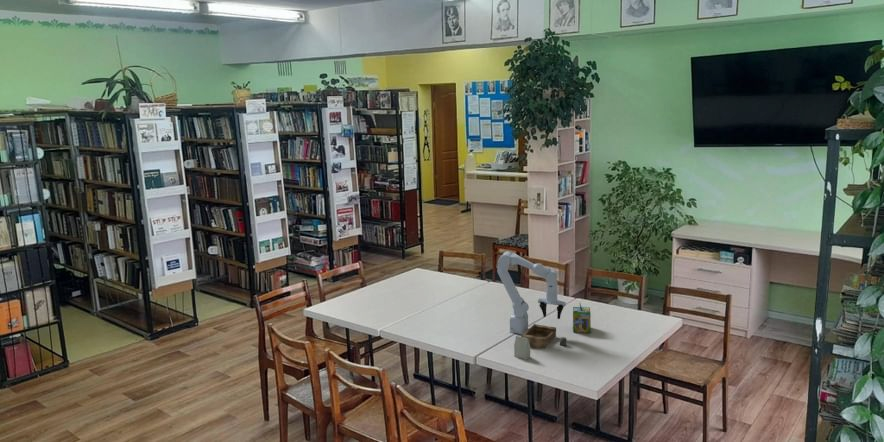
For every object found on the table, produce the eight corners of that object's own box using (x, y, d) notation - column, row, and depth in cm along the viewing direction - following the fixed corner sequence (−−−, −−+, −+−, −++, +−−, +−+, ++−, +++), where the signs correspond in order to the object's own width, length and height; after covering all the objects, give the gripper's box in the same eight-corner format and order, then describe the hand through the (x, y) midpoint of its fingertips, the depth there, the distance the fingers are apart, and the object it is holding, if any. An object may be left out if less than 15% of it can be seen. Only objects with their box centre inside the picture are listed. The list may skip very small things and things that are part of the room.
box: (521, 345, 309) (521, 335, 308) (534, 332, 324) (534, 324, 323) (543, 349, 303) (543, 339, 302) (555, 336, 318) (556, 327, 317)
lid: (547, 349, 304) (547, 341, 303) (557, 339, 316) (557, 331, 316) (569, 353, 298) (569, 345, 297) (578, 342, 311) (578, 335, 310)
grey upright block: (526, 359, 292) (526, 340, 290) (514, 356, 296) (514, 336, 294) (530, 357, 294) (530, 337, 292) (518, 353, 299) (518, 334, 297)
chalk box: (590, 333, 321) (591, 306, 318) (572, 332, 323) (573, 306, 320) (590, 327, 330) (590, 300, 327) (572, 326, 332) (572, 300, 329)
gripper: (535, 293, 317) (536, 317, 320) (562, 296, 310) (562, 321, 313) (540, 289, 323) (540, 313, 326) (567, 292, 316) (567, 317, 319)
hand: (551, 317), depth 320 cm, fingers open, 7 cm apart
